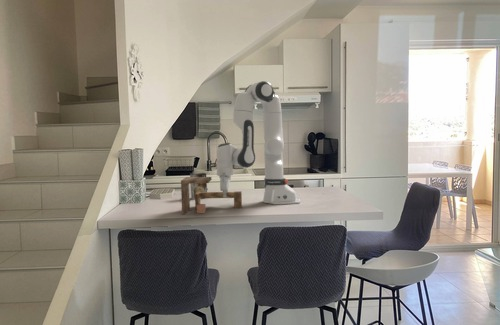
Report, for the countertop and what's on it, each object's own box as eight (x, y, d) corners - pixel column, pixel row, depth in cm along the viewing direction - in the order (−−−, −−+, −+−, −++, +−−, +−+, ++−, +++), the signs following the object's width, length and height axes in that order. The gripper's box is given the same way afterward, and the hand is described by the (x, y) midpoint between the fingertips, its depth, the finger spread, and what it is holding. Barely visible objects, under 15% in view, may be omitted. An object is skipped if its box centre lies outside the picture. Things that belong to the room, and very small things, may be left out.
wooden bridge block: (242, 205, 232) (241, 190, 231) (241, 208, 223) (240, 193, 222) (198, 206, 233) (197, 191, 232) (195, 209, 224) (194, 194, 223)
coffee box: (203, 196, 263) (203, 172, 262) (207, 198, 258) (206, 173, 256) (190, 198, 259) (189, 173, 258) (193, 199, 253) (193, 174, 252)
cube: (205, 211, 218) (205, 204, 218) (204, 212, 214) (204, 205, 214) (198, 211, 218) (198, 204, 218) (197, 212, 214) (196, 205, 214)
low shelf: (212, 209, 223) (211, 176, 222) (208, 214, 209) (207, 180, 208) (187, 209, 224) (186, 177, 222) (182, 214, 210) (180, 180, 208)
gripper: (228, 174, 216) (229, 199, 217) (231, 170, 236) (232, 193, 237) (217, 174, 216) (217, 199, 217) (221, 170, 236) (221, 193, 237)
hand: (225, 196), depth 227 cm, fingers open, 5 cm apart
